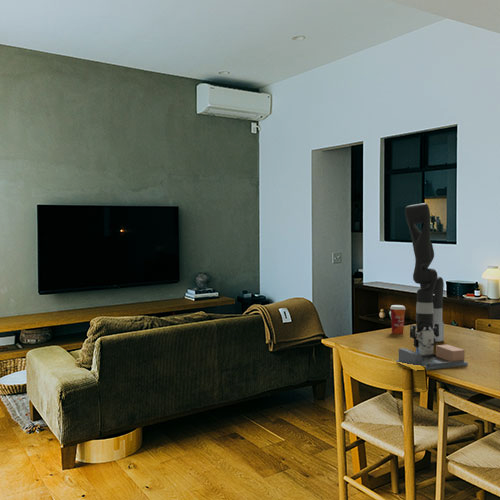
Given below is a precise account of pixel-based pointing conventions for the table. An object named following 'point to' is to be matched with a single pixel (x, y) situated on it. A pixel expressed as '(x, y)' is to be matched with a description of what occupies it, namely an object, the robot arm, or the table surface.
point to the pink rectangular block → (449, 352)
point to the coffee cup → (397, 318)
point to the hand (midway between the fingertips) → (424, 346)
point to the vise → (427, 360)
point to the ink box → (426, 343)
